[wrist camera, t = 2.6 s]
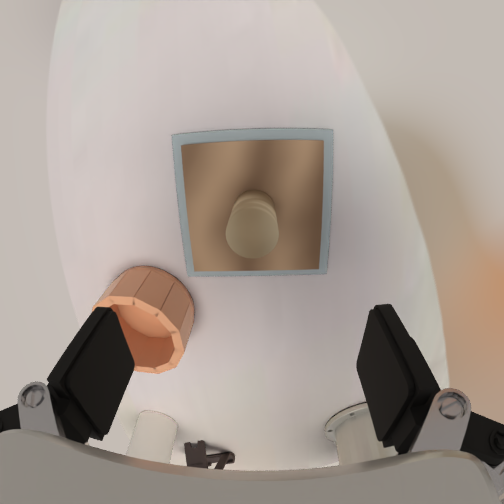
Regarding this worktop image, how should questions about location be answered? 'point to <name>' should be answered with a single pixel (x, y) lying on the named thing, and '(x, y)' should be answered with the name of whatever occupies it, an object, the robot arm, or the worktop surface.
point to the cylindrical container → (153, 437)
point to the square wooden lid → (254, 204)
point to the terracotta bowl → (151, 316)
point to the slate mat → (256, 135)
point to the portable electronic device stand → (206, 457)
